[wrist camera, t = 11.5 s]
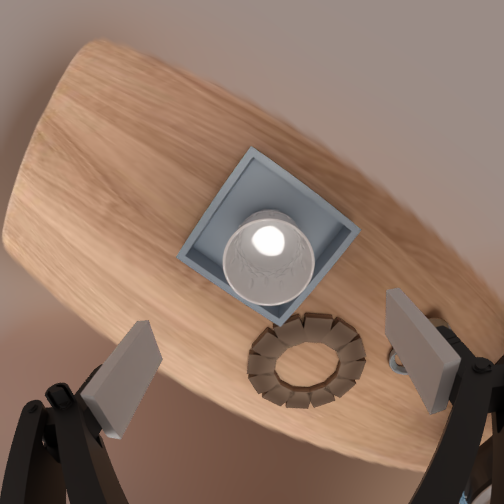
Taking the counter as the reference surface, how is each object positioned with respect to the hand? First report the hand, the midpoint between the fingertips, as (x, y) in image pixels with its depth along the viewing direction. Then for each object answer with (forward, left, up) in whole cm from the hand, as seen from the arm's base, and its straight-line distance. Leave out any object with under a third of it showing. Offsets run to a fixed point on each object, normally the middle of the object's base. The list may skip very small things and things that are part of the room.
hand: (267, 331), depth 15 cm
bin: (0, 0, -21) cm, 21 cm away
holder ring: (-16, +12, -21) cm, 29 cm away
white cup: (0, 0, -21) cm, 21 cm away
